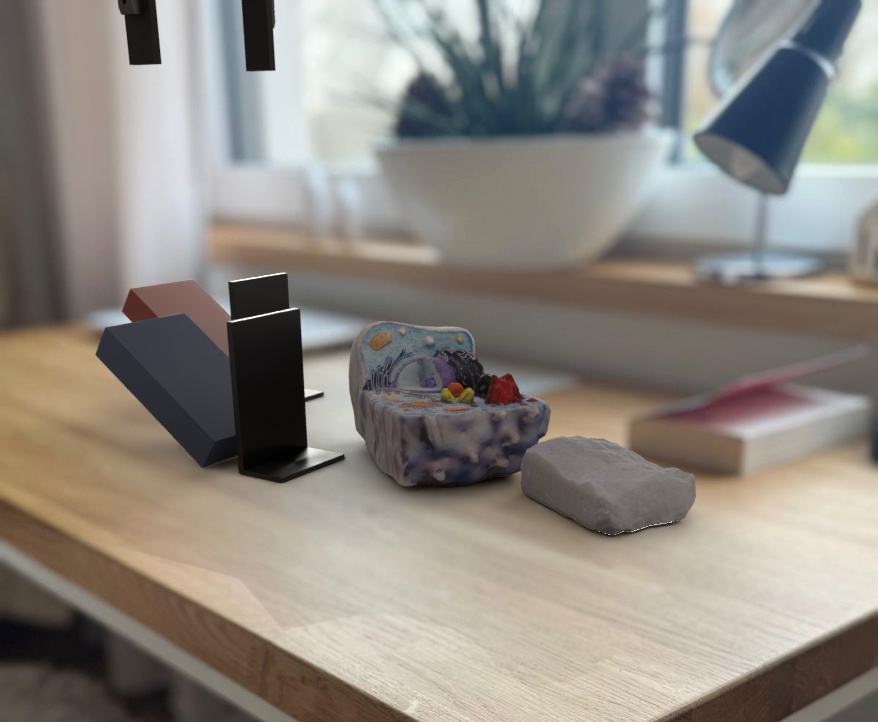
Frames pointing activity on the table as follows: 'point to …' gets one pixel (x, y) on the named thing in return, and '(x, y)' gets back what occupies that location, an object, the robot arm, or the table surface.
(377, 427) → the cell model
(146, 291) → the maroon book
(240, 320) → the black book support
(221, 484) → the table surface
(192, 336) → the navy book
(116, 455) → the table surface
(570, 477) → the stone block
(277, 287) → the black bookend
